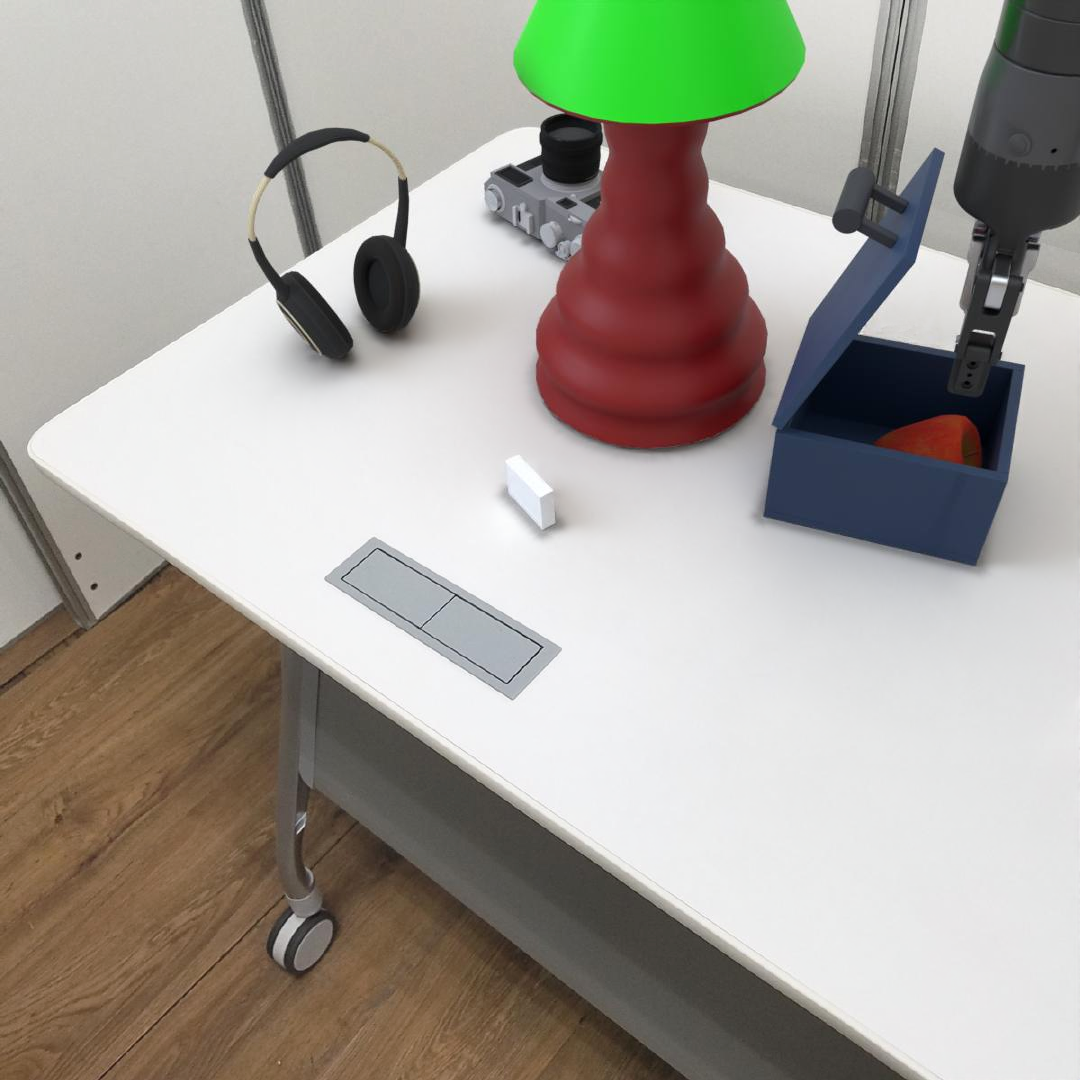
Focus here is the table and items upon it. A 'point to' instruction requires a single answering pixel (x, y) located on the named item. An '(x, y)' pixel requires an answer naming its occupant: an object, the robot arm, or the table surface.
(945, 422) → the apple
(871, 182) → the lid
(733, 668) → the table surface
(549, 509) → the eraser
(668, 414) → the table lamp
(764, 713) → the table surface
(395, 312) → the headphones
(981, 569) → the table surface
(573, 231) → the camera
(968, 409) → the box
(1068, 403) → the table surface
